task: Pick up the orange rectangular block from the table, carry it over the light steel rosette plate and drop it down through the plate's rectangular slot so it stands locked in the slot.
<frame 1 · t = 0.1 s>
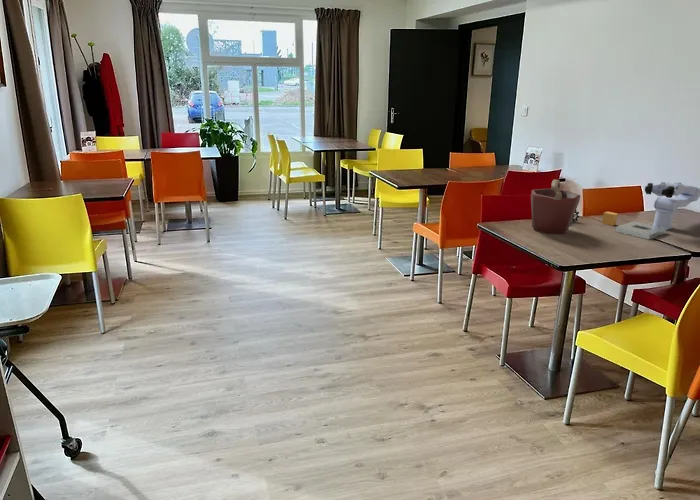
hand: (654, 190, 246), 22 cm above the table, tool horizontal, fingers open, 7 cm apart
valve: (565, 222, 269), on the table
orange rectangular block: (608, 224, 268), on the table
bucket: (547, 229, 254), on the table
rosette plate: (640, 232, 254), on the table
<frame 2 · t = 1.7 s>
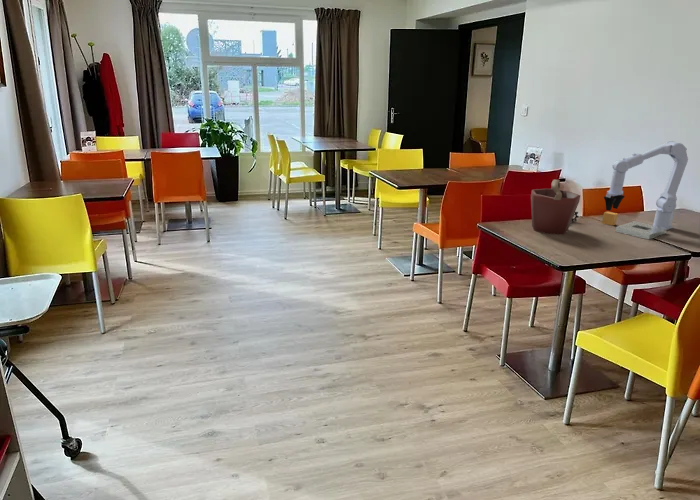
hand: (611, 209, 266), 8 cm above the table, tool pointing down, fingers open, 7 cm apart
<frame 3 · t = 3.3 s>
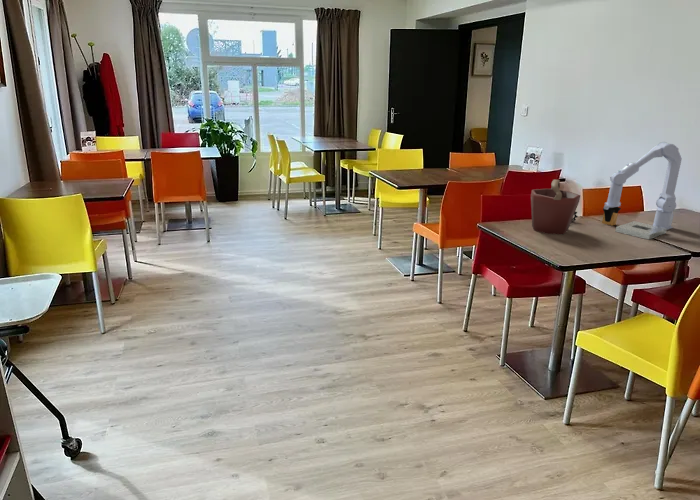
hand: (609, 220, 268), 2 cm above the table, tool pointing down, fingers closed on orange rectangular block, 4 cm apart
orange rectangular block: (608, 223, 268), on the table, touching gripper
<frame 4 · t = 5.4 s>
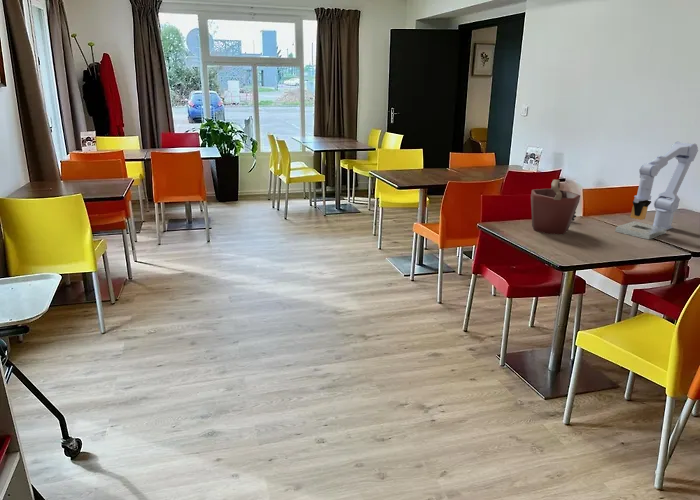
hand: (639, 215, 254), 8 cm above the table, tool pointing down, fingers closed on orange rectangular block, 4 cm apart
orange rectangular block: (637, 218, 255), point 7 cm above the table, touching gripper
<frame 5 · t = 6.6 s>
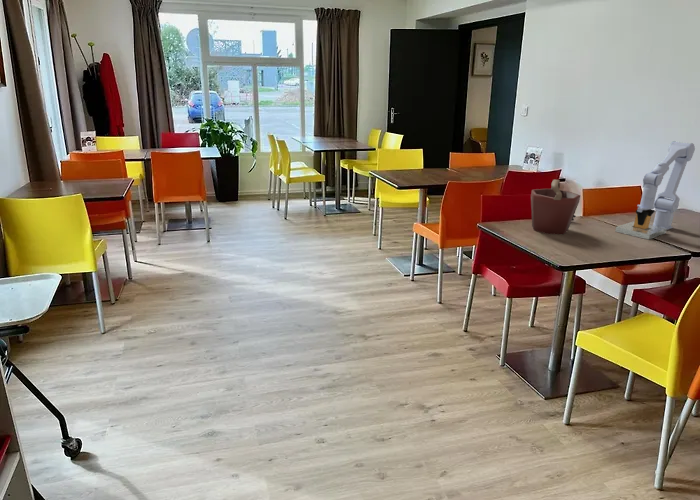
hand: (642, 224, 253), 4 cm above the table, tool pointing down, fingers closed on orange rectangular block, 4 cm apart
orange rectangular block: (640, 227, 254), point 3 cm above the table, touching gripper
when the fingers open (4 cm above the table, at t = 7.5 s): orange rectangular block drops 2 cm, resting in rosette plate.
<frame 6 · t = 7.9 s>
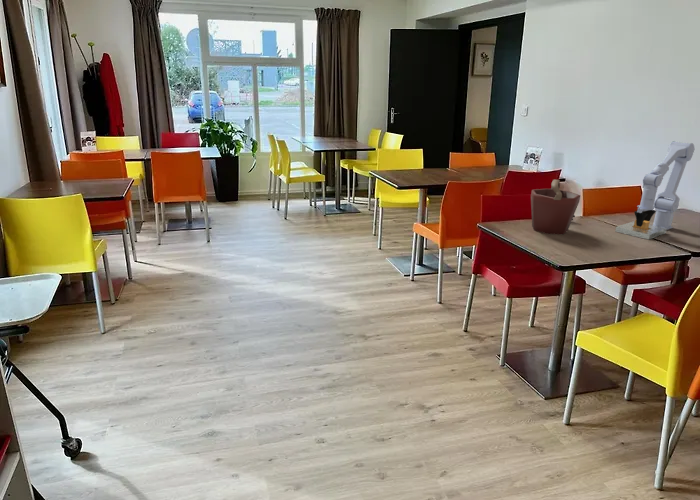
hand: (642, 224, 253), 4 cm above the table, tool pointing down, fingers open, 7 cm apart
orange rectangular block: (639, 232, 255), resting in rosette plate
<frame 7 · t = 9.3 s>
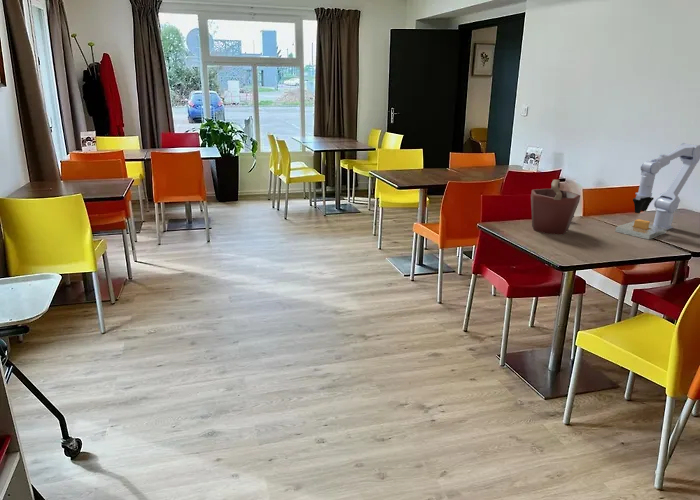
hand: (640, 211, 256), 9 cm above the table, tool pointing down, fingers open, 7 cm apart
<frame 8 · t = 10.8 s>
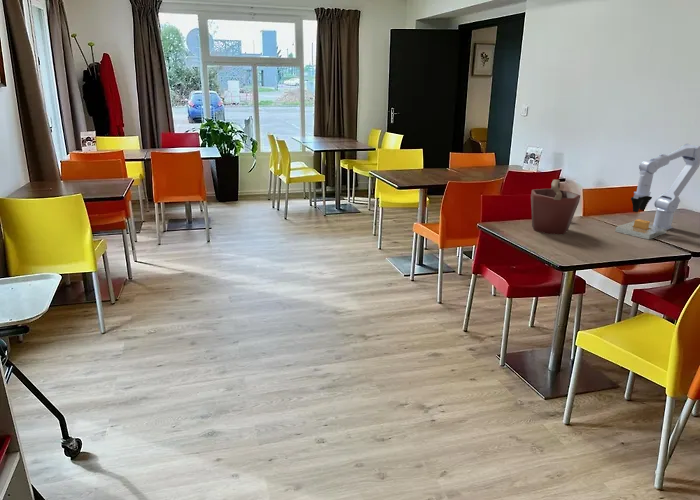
hand: (638, 210, 258), 9 cm above the table, tool pointing down, fingers open, 7 cm apart
at the end: orange rectangular block 0.3 cm off-centre on the rosette plate, point 0.0 cm above the rosette plate's base; orange rectangular block tilted 0°; the gripper is holding nothing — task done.
